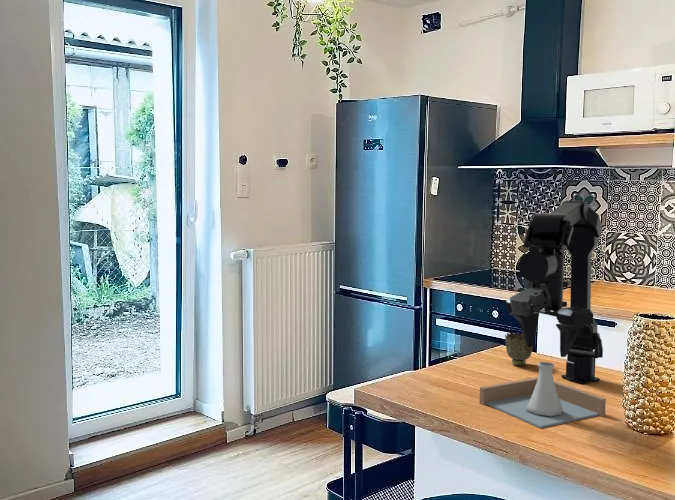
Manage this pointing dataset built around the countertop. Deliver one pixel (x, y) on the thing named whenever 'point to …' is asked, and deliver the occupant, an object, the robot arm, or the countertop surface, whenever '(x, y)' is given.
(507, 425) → the countertop surface
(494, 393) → the corner arena
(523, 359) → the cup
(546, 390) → the flask
